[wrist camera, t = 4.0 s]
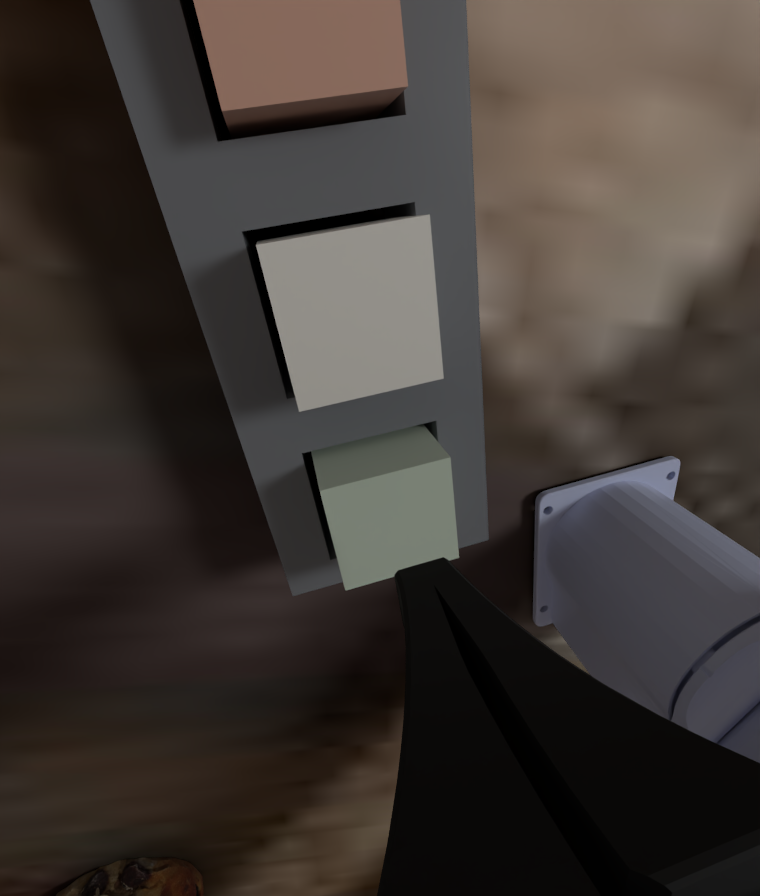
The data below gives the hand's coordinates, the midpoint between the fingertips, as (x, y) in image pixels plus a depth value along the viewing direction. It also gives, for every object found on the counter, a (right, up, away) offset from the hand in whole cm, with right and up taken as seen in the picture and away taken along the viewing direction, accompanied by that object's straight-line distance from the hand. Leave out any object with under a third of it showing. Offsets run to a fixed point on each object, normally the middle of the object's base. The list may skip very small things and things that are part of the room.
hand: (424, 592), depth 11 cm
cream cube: (-2, +8, +2) cm, 9 cm away
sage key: (-1, +3, +6) cm, 6 cm away
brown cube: (-4, +14, 0) cm, 15 cm away
